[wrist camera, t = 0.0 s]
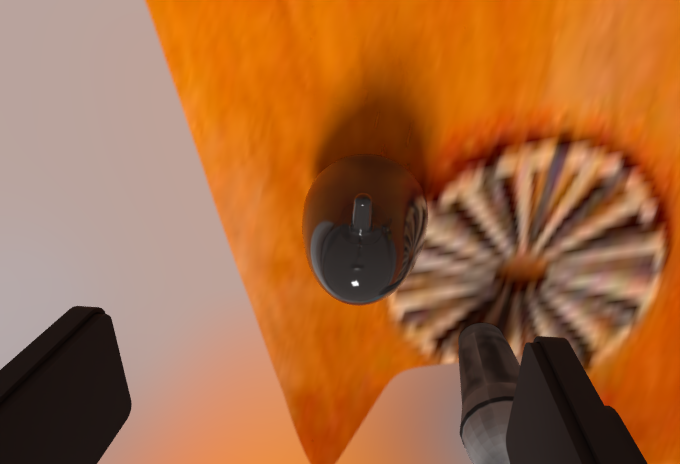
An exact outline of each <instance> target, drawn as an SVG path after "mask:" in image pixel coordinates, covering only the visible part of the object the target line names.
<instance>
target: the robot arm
mask: <svg viewBox="0 0 680 464" xmlns="http://www.w3.org/2000/svg"><path fill="white" fill-rule="evenodd" d="M130 411H131V398H130V394H129V391H128V386H127V382H126V377H125V373H124V369H123V365H122V361H121V357H120V353H119V348H118V344H117V340H116V336H115V332H114V328H113V324H112V319H111V317H110V316H109V315H107V314H105V311H104V310H103V309H102V308H99V307H84V306H76V307H72V308H71V309H69V310H68V311H67V312H66V313H65V314H64V315H63V316H61V317H60V318H59V319H58V320H57V321H56V322H55V323H54V324H52V325H51V326H50V327H49V328H48V329H47V330H45V331H44V332H43V333H42V334H41V335H40V336H39V337H37V338H36V339H35V340H34V341H33V342H32V343H31V344H29V345H28V346H27V347H26V348H25V349H24V350H23V351H21V352H20V353H19V354H18V355H17V356H16V357H15V358H13V360H11V361H10V362H9V363H8V364H7V365H5V366H4V367H3V368H2V369H1V370H0V464H97V463H98V461H99V460H100V458H101V457H102V455H103V454H104V452H105V451H106V450H107V448H108V447H109V445H110V444H111V442H112V441H113V439H114V438H115V436H116V435H117V433H118V432H119V430H120V429H121V427H122V426H123V424H124V423H125V421H126V420H127V418H128V416H129V414H130ZM506 449H507V454H508V457H509V461H510V464H647V462H646V460H645V459H644V457H643V455H642V454H641V452H640V450H639V448H638V447H637V445H636V443H635V442H634V440H633V438H632V436H631V435H630V433H629V431H628V430H627V428H626V426H625V424H624V423H623V421H622V419H621V418H620V416H619V415H618V413H617V412H616V411H615V409H613V408H612V407H610V406H604V404H603V402H602V401H601V399H600V397H599V395H598V393H597V392H596V390H595V388H594V386H593V385H592V383H591V381H590V379H589V377H588V376H587V374H586V372H585V370H584V368H583V367H582V365H581V363H580V361H579V360H578V358H577V356H576V354H575V352H574V351H573V349H572V347H571V345H570V343H569V342H568V341H567V339H565V338H557V337H542V336H537V337H536V338H535V339H534V342H533V343H526V344H525V347H524V351H523V356H522V361H521V365H520V370H519V375H518V380H517V384H516V389H515V394H514V399H513V403H512V408H511V413H510V418H509V422H508V427H507V432H506Z"/></svg>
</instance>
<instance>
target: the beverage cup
mask: <svg viewBox="0 0 680 464" xmlns="http://www.w3.org/2000/svg"><path fill="white" fill-rule="evenodd" d="M459 366H460V380H461V395H462V418H461V426H460V436H461V439H462V442H463V444H464V446H465V448H466V451H467V453H468V456H469V458H470V460H471V461H472V463H473V464H510V461H509V457H508V454H507V449H506V432H507V427H508V422H509V418H510V413H511V408H512V403H513V399H514V394H515V389H516V384H517V380H518V375H519V370H520V365H519V363H518V361H517V359H516V357H515V355H514V353H513V351H512V349H511V347H510V345H509V344H508V342H507V341H506V339H505V338H504V336H503V334H502V332H501V331H500V330H499V328H497V327H495V326H494V325H491V324H488V323H476V324H472V325H470V326H468V327H467V328H465V329H464V330H463V331H462V332H461V334H460V336H459Z"/></svg>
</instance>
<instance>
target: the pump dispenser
mask: <svg viewBox="0 0 680 464" xmlns="http://www.w3.org/2000/svg"><path fill="white" fill-rule="evenodd" d="M427 225H428V208H427V202H426V198H425V195H424V192H423V190H422V188H421V186H420V184H419V182H418V181H417V180H416V178H415V177H414V176H413V175H412V174H411V173H410V172H409V171H408V170H407V169H406V168H405V167H403V166H402V165H400V164H399V163H397V162H395V161H393V160H391V159H389V158H386V157H382V156H378V155H371V154H359V155H352V156H348V157H345V158H342V159H340V160H338V161H336V162H334V163H332V164H330V165H329V166H328V167H326V168H325V169H324V170H323V171H322V172H321V173H320V174H319V175H318V176H317V177H316V179H315V180H314V182H313V183H312V185H311V187H310V189H309V191H308V194H307V196H306V200H305V203H304V209H303V219H302V234H303V242H304V248H305V253H306V257H307V260H308V264H309V266H310V269H311V271H312V273H313V275H314V277H315V279H316V280H317V282H318V283H319V285H320V286H321V287H322V288H323V289H324V290H325V291H326V292H327V293H328V294H329V295H330V296H332V297H333V298H335V299H337V300H338V301H340V302H343V303H346V304H349V305H357V306H361V305H369V304H373V303H376V302H379V301H381V300H383V299H385V298H386V297H388V296H389V295H391V294H392V293H393V292H395V291H396V290H397V289H398V288H399V287H400V286H401V285H402V283H403V282H404V281H405V280H406V278H407V277H408V275H409V274H410V272H411V271H412V269H413V267H414V265H415V263H416V261H417V259H418V257H419V255H420V253H421V250H422V247H423V244H424V240H425V236H426V231H427Z"/></svg>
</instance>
